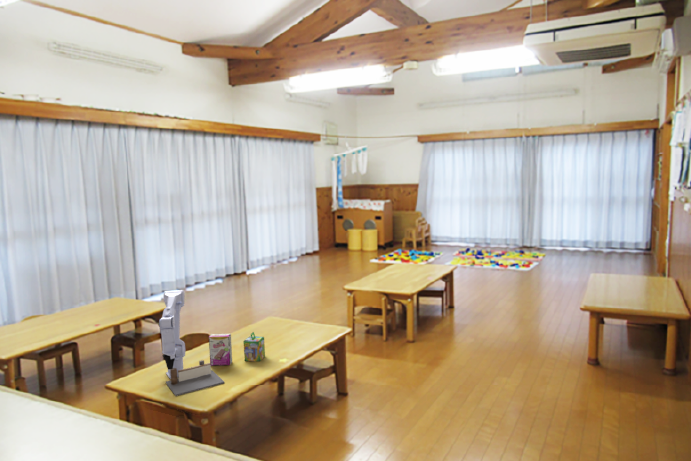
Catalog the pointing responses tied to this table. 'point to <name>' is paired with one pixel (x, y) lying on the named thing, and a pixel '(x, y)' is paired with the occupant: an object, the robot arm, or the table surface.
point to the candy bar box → (220, 349)
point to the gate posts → (174, 373)
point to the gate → (194, 372)
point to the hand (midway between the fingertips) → (170, 368)
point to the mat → (195, 384)
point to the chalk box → (254, 348)
